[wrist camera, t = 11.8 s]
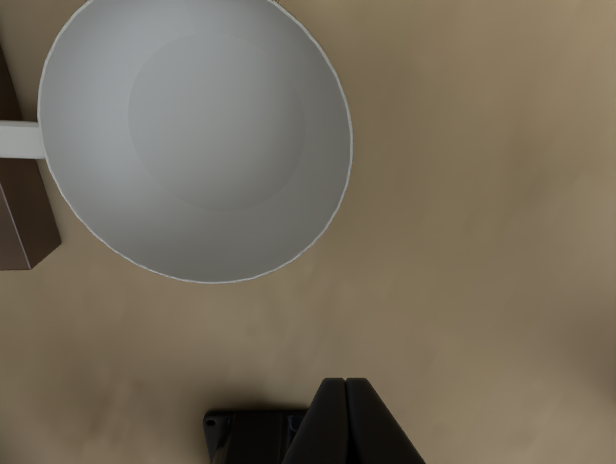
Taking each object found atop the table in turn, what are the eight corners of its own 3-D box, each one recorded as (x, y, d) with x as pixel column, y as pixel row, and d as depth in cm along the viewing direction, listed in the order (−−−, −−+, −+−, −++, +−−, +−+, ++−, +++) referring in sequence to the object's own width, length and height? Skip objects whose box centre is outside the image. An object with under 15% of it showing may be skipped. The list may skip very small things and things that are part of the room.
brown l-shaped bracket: (283, 238, 20) (278, 265, 18) (31, 244, 21) (-4, 271, 19) (249, -268, 13) (234, -328, 11) (-138, -243, 14) (-228, -295, 11)
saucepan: (337, 250, 21) (340, 296, 17) (-46, 229, 21) (-120, 271, 17) (359, -13, 16) (371, -22, 12) (-135, -38, 16) (-262, -55, 12)
